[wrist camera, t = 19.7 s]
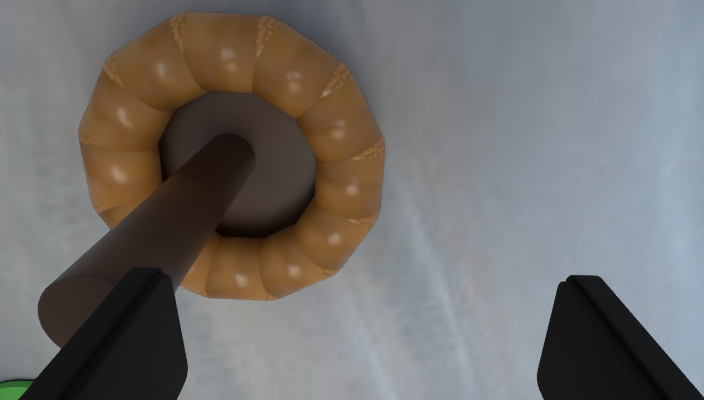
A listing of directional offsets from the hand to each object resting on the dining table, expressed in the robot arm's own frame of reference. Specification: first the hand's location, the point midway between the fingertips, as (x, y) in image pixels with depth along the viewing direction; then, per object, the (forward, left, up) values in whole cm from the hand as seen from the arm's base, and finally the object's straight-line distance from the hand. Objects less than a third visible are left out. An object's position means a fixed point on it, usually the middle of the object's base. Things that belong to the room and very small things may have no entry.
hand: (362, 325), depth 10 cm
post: (0, -6, -13) cm, 15 cm away
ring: (0, -5, -10) cm, 12 cm away
